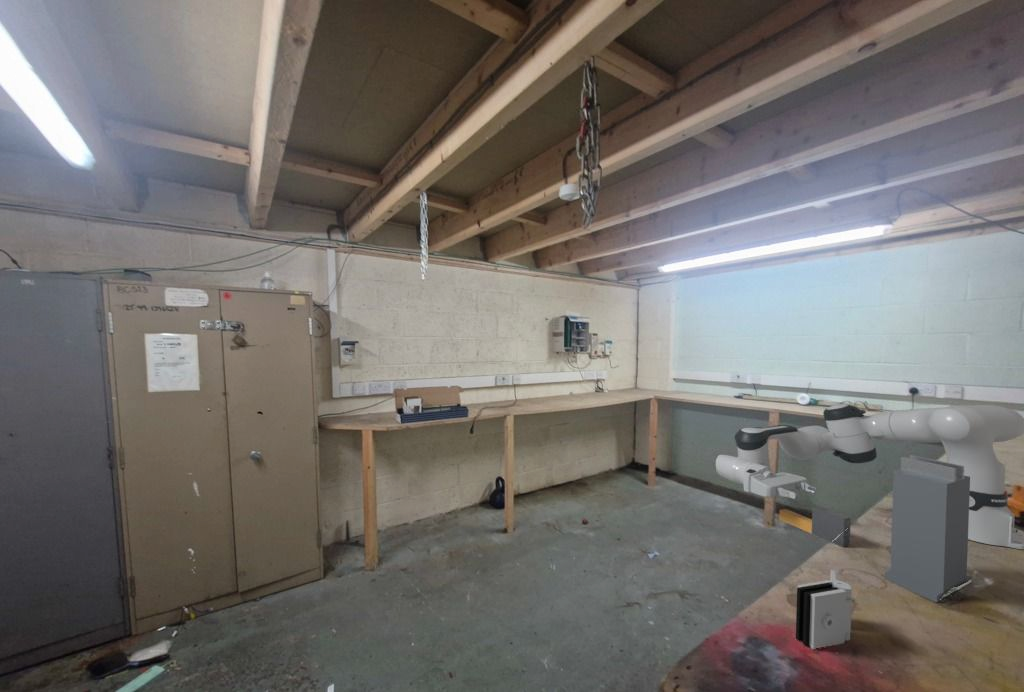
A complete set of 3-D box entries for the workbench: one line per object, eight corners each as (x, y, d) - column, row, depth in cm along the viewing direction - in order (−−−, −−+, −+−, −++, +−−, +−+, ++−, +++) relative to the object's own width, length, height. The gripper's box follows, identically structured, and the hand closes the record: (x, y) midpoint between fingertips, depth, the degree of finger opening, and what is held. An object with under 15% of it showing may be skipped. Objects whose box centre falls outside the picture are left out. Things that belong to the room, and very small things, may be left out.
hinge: (829, 616, 79) (831, 568, 79) (862, 634, 74) (864, 584, 74) (791, 637, 73) (793, 586, 73) (823, 659, 68) (825, 604, 68)
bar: (785, 518, 123) (786, 493, 123) (849, 545, 107) (850, 517, 107) (779, 519, 122) (780, 494, 122) (843, 547, 106) (844, 519, 106)
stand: (919, 562, 99) (923, 452, 99) (971, 582, 91) (976, 462, 90) (883, 578, 92) (887, 460, 92) (936, 602, 84) (941, 472, 83)
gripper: (780, 483, 133) (825, 498, 120) (740, 491, 124) (785, 509, 112) (780, 465, 132) (826, 478, 120) (741, 472, 124) (785, 488, 112)
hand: (806, 493), depth 116 cm, fingers open, 8 cm apart
